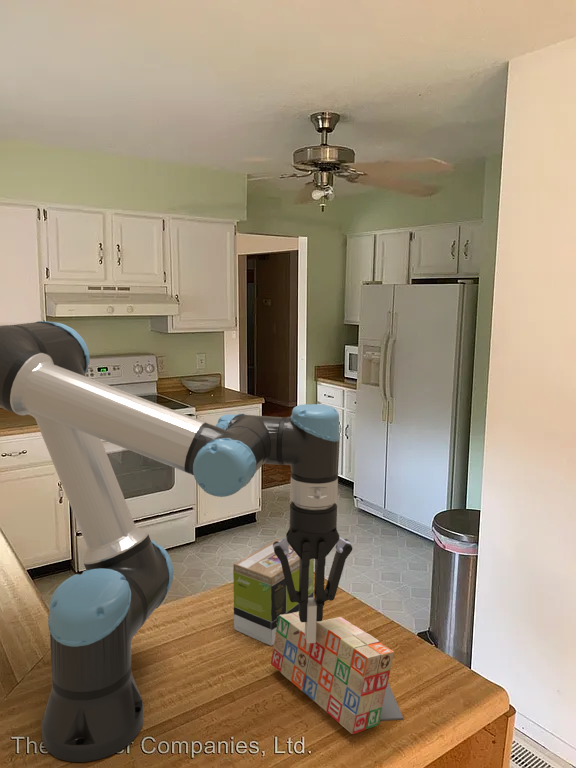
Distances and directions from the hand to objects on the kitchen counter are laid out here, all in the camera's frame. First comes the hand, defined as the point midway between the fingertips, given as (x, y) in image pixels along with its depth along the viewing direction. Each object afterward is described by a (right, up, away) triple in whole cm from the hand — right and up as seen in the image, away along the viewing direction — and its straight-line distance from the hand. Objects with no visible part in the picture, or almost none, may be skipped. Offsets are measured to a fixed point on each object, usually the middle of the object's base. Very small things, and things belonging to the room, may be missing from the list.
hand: (310, 638), depth 99 cm
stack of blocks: (+2, -10, +2) cm, 11 cm away
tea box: (-6, -7, +25) cm, 27 cm away
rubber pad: (+11, -11, +3) cm, 16 cm away
